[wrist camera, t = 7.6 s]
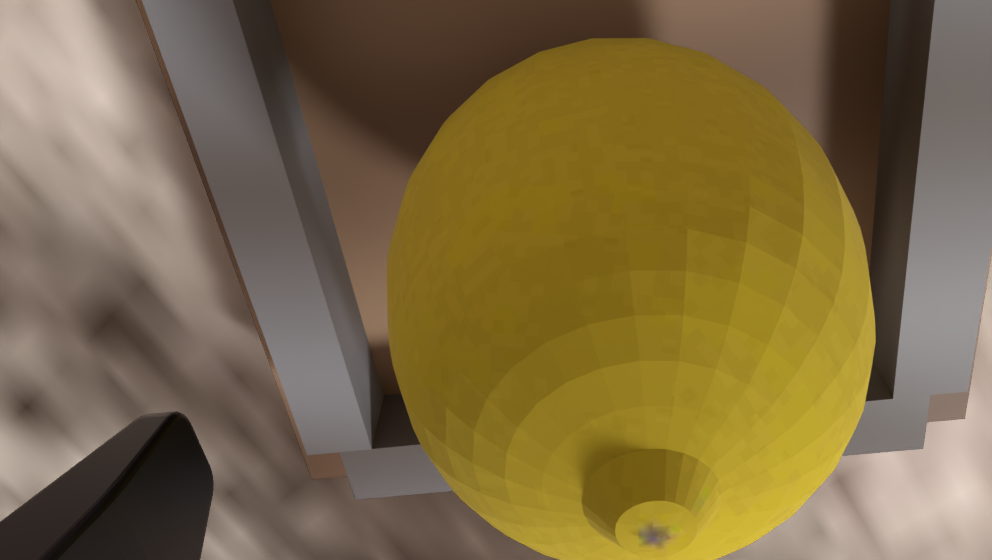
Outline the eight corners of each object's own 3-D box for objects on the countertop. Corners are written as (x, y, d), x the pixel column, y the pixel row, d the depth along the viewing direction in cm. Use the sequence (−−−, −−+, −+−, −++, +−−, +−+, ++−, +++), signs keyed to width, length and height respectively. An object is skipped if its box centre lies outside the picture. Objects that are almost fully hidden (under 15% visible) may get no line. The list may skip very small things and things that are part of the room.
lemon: (357, 86, 13) (181, 432, 7) (688, -103, 12) (896, 99, 5) (526, 339, 16) (523, 781, 9) (818, 211, 14) (1078, 630, 8)
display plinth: (906, 329, 19) (1001, 474, 15) (338, 388, 21) (295, 535, 17) (987, -407, 12) (1191, -475, 9) (136, -243, 14) (-14, -239, 10)
